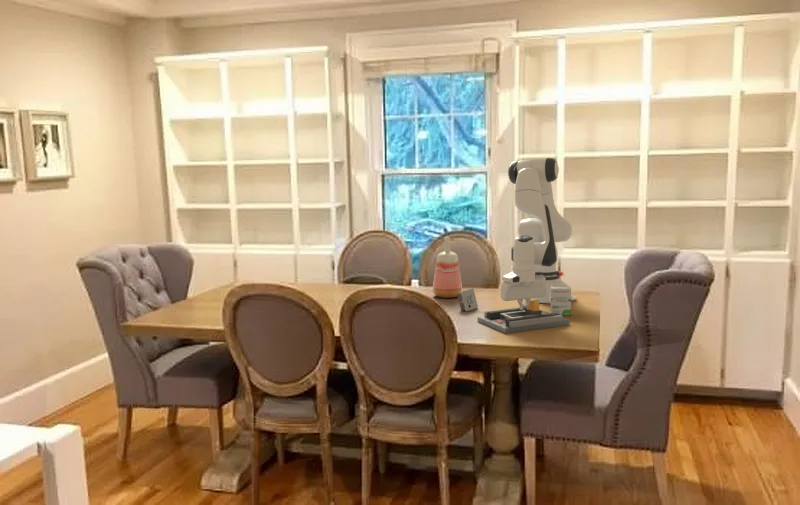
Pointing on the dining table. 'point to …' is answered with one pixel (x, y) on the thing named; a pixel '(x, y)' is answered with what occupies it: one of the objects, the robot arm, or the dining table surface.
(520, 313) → the panel
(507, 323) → the pair of panel rails
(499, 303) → the dining table surface
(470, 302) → the electrical switch
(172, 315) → the dining table surface
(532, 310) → the lever
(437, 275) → the vase
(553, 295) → the ink box
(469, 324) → the dining table surface
